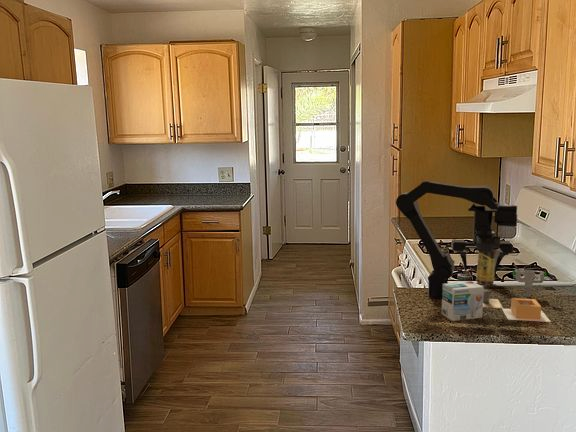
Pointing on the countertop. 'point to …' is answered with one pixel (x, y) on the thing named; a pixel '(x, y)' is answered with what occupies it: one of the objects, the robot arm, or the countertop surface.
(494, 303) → the stand
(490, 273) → the sauce bottle
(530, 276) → the mechanical component
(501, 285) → the countertop surface
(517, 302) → the collar
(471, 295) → the light bulb box
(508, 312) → the hub board
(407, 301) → the countertop surface
